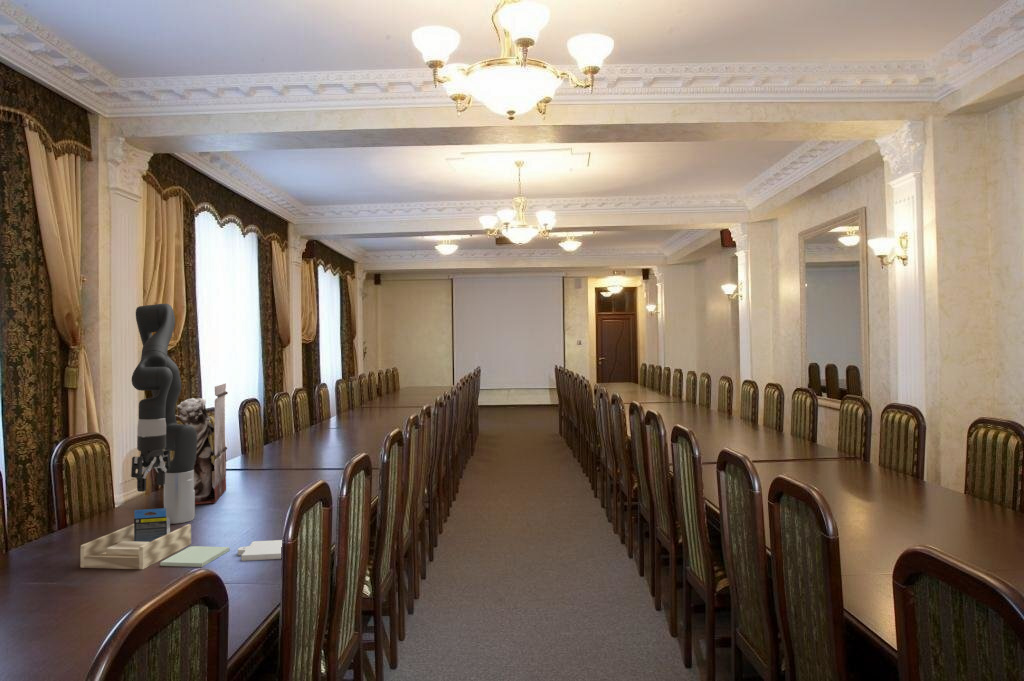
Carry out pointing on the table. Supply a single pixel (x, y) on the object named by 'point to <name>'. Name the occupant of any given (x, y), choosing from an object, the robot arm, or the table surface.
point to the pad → (195, 556)
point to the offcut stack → (124, 549)
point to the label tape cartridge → (150, 524)
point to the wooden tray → (147, 552)
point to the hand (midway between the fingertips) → (151, 488)
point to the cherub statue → (207, 445)
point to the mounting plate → (261, 550)
